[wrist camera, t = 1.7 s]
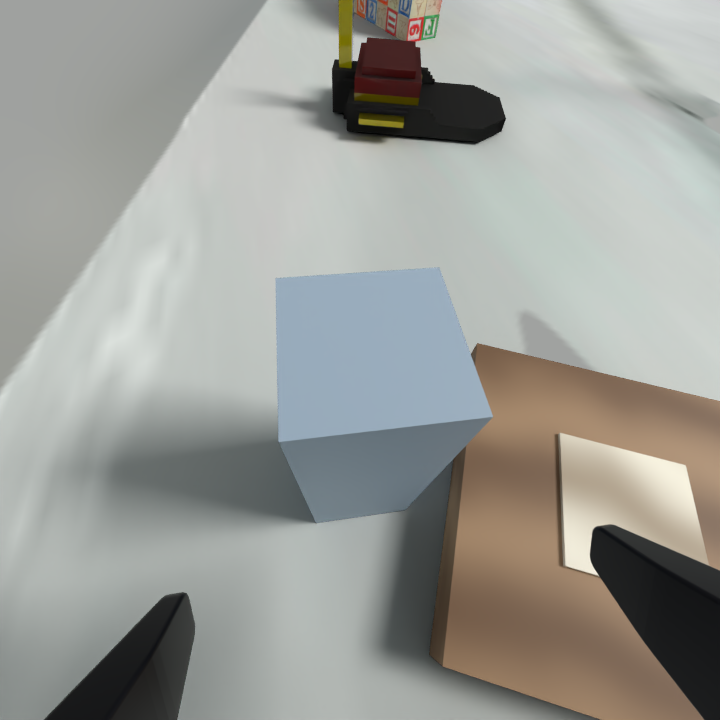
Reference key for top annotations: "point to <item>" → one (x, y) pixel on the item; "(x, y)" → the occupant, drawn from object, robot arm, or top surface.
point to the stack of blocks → (402, 17)
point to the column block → (372, 388)
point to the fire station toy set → (405, 92)
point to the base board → (570, 531)
